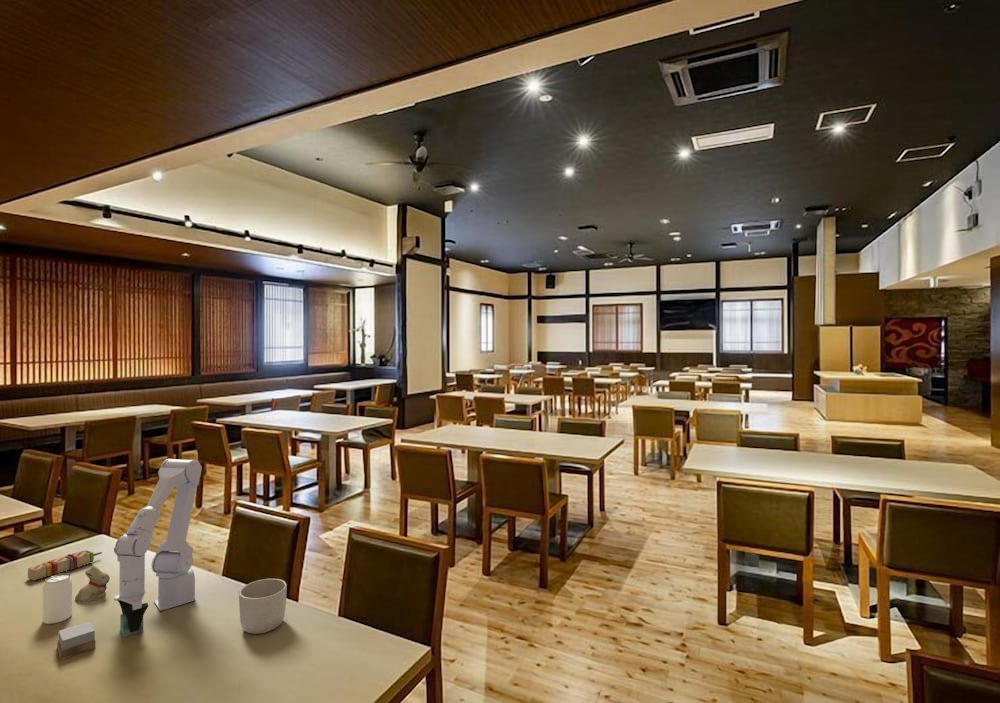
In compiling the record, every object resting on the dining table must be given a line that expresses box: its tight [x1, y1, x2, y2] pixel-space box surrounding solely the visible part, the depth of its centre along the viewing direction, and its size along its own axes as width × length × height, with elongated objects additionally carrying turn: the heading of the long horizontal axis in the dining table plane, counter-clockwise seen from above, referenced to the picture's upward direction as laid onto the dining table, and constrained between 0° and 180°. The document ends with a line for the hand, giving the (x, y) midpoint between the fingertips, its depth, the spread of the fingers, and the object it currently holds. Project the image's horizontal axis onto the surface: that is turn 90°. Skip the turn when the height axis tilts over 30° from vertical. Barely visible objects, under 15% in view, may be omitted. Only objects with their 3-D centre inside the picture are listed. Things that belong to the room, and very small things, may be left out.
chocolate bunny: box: [74, 565, 111, 602], centre depth 160 cm, size 6×8×10 cm
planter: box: [238, 578, 288, 635], centre depth 145 cm, size 12×12×11 cm
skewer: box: [27, 549, 103, 581], centre depth 180 cm, size 21×6×5 cm, turn 153°
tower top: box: [58, 621, 96, 651], centre depth 134 cm, size 6×6×2 cm
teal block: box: [119, 613, 144, 638], centre depth 142 cm, size 4×4×4 cm
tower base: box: [56, 639, 96, 661], centre depth 134 cm, size 7×7×2 cm
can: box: [42, 573, 73, 625], centre depth 147 cm, size 6×6×12 cm
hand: (131, 625), depth 142 cm, fingers open, 7 cm apart
